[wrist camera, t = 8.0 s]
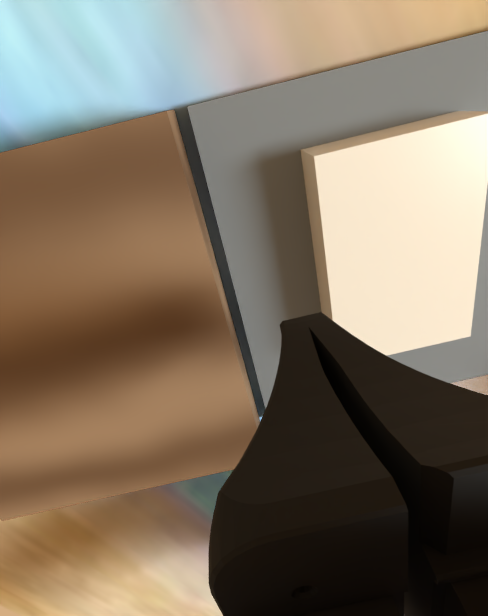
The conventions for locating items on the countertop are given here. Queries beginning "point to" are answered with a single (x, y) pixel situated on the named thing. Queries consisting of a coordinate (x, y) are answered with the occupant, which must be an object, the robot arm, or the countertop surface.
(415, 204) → the cream rectangular slab
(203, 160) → the mat
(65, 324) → the brown wooden slab
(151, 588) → the countertop surface
